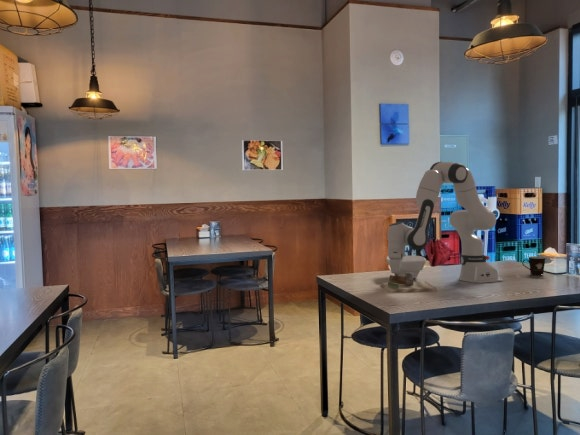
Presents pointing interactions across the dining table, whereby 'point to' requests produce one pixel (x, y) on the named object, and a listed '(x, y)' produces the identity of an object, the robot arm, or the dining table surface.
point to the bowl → (411, 265)
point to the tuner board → (408, 287)
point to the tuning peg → (403, 279)
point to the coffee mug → (536, 265)
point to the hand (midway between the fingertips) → (396, 279)
